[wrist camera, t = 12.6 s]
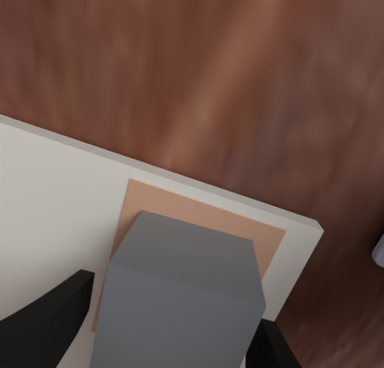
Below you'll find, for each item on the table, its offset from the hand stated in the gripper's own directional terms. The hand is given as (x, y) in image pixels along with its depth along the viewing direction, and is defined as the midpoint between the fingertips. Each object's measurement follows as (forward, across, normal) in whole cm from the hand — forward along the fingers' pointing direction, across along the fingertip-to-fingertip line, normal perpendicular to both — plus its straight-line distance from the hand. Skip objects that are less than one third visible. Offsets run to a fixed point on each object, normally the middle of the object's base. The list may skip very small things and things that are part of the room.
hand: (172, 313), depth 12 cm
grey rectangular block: (+2, 0, 0) cm, 2 cm away
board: (+3, +4, +2) cm, 5 cm away
